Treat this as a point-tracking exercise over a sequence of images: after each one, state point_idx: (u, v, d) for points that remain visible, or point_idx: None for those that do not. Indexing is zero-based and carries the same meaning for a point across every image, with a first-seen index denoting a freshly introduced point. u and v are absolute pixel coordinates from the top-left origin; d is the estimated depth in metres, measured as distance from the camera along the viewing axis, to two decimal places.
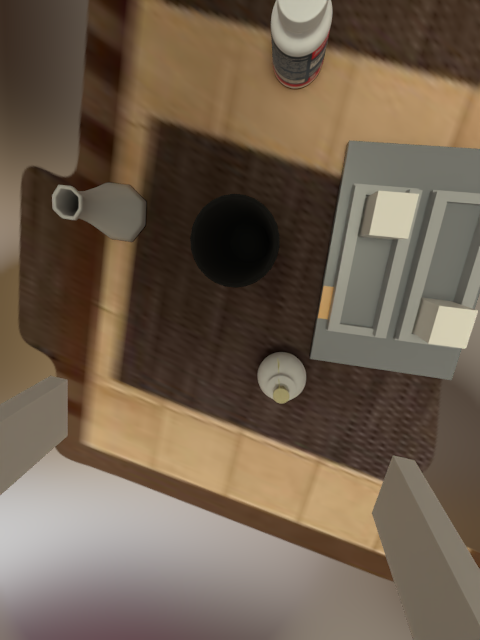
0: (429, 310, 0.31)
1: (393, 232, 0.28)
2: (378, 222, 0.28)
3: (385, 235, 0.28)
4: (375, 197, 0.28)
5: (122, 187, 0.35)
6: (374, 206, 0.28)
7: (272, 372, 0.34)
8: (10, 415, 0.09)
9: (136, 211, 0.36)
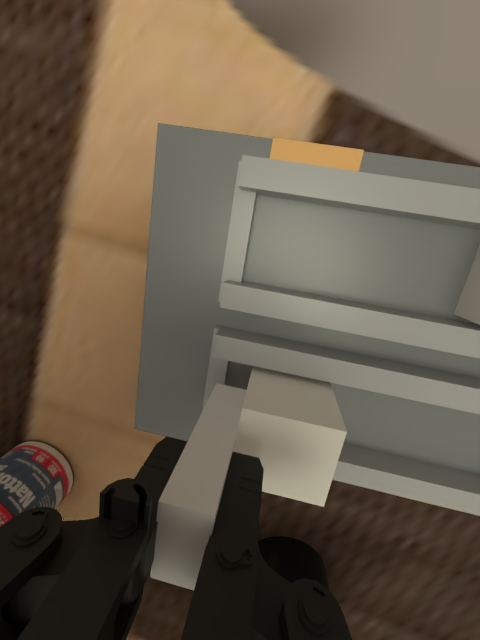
0: None
1: (326, 461, 0.11)
2: (297, 487, 0.12)
3: (330, 476, 0.12)
4: None
5: None
6: None
7: None
8: (219, 418, 0.11)
9: None
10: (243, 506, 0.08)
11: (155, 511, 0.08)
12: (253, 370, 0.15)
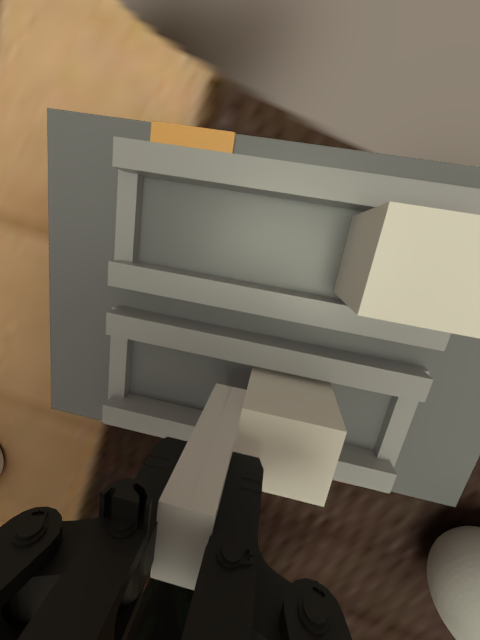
0: None
1: (326, 461, 0.11)
2: (297, 487, 0.12)
3: (330, 476, 0.11)
4: None
5: None
6: None
7: None
8: (219, 418, 0.11)
9: None
10: (243, 505, 0.08)
11: (155, 511, 0.08)
12: (253, 370, 0.15)
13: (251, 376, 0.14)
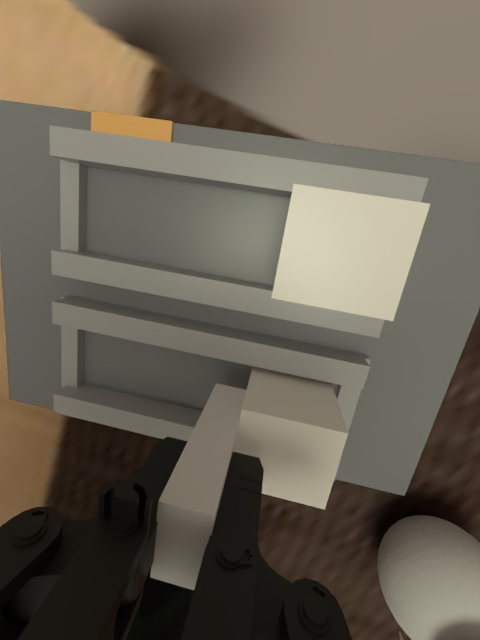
0: None
1: (327, 463, 0.11)
2: (297, 489, 0.12)
3: (331, 478, 0.11)
4: None
5: None
6: None
7: None
8: (219, 418, 0.11)
9: None
10: (243, 505, 0.08)
11: (155, 511, 0.08)
12: (253, 370, 0.15)
13: (251, 376, 0.14)
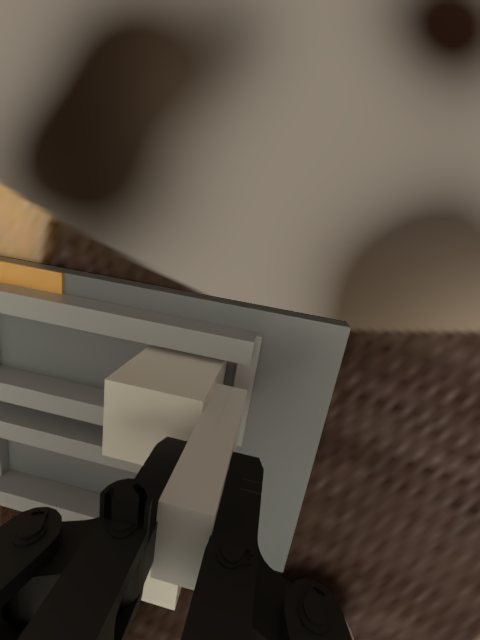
0: None
1: None
2: (151, 594, 0.14)
3: (175, 588, 0.14)
4: None
5: None
6: None
7: None
8: (219, 418, 0.11)
9: None
10: (243, 505, 0.08)
11: (155, 511, 0.08)
12: None
13: None
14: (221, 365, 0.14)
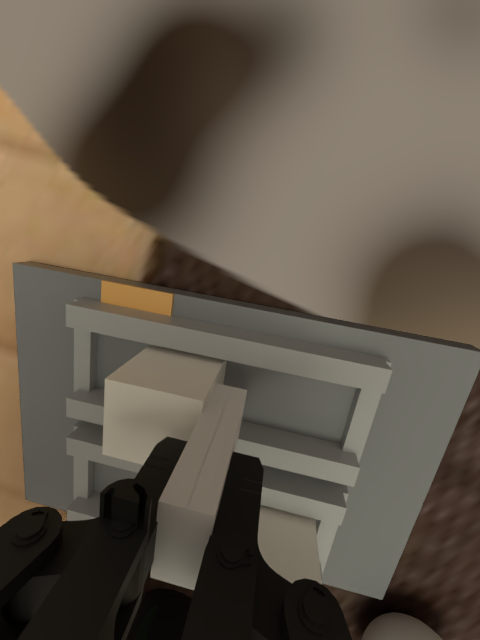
0: None
1: None
2: None
3: None
4: None
5: None
6: None
7: None
8: (219, 418, 0.11)
9: None
10: (243, 506, 0.08)
11: (155, 511, 0.08)
12: None
13: None
14: (221, 365, 0.14)
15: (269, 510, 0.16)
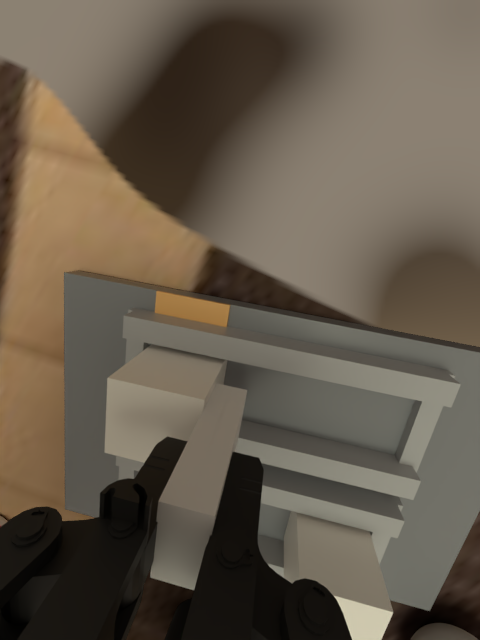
0: None
1: (373, 632, 0.13)
2: None
3: None
4: None
5: None
6: None
7: None
8: (219, 418, 0.11)
9: None
10: (243, 505, 0.08)
11: (155, 511, 0.08)
12: (298, 514, 0.16)
13: (298, 526, 0.16)
14: (222, 364, 0.15)
15: (323, 522, 0.16)
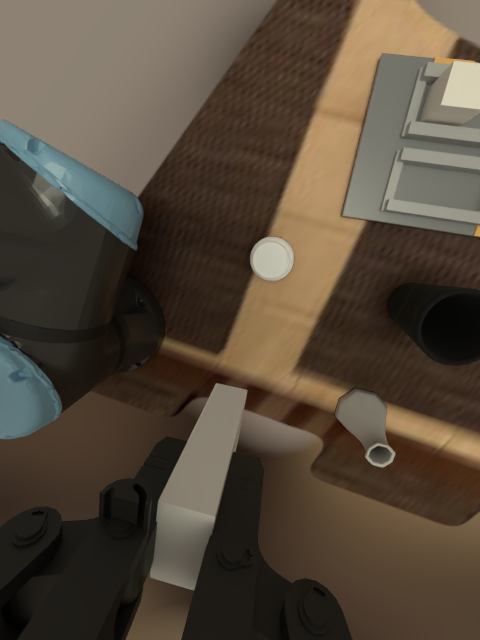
0: (441, 113, 0.30)
1: None
2: None
3: None
4: None
5: (345, 405, 0.42)
6: None
7: None
8: (219, 418, 0.11)
9: (366, 398, 0.42)
10: (243, 505, 0.08)
11: (155, 511, 0.08)
12: None
13: None
14: None
15: None
